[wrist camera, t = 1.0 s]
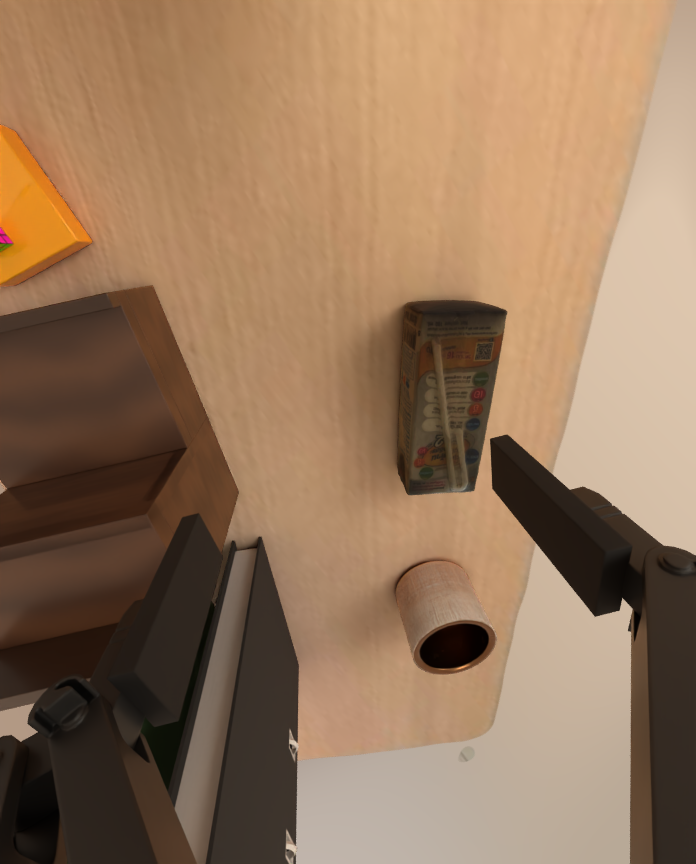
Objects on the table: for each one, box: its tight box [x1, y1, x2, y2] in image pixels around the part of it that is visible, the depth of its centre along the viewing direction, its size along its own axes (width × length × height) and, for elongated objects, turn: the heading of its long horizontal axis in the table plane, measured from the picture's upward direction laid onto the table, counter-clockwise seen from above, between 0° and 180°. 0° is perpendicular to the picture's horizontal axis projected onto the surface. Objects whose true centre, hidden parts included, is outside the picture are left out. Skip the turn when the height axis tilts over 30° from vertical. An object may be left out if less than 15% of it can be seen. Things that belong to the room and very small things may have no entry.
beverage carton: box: [398, 300, 507, 495], centre depth 36 cm, size 8×19×7 cm, turn 1°
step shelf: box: [0, 285, 239, 711], centre depth 27 cm, size 23×16×20 cm
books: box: [67, 537, 299, 864], centre depth 36 cm, size 27×15×32 cm, turn 5°
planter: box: [396, 561, 497, 675], centre depth 48 cm, size 11×11×10 cm
